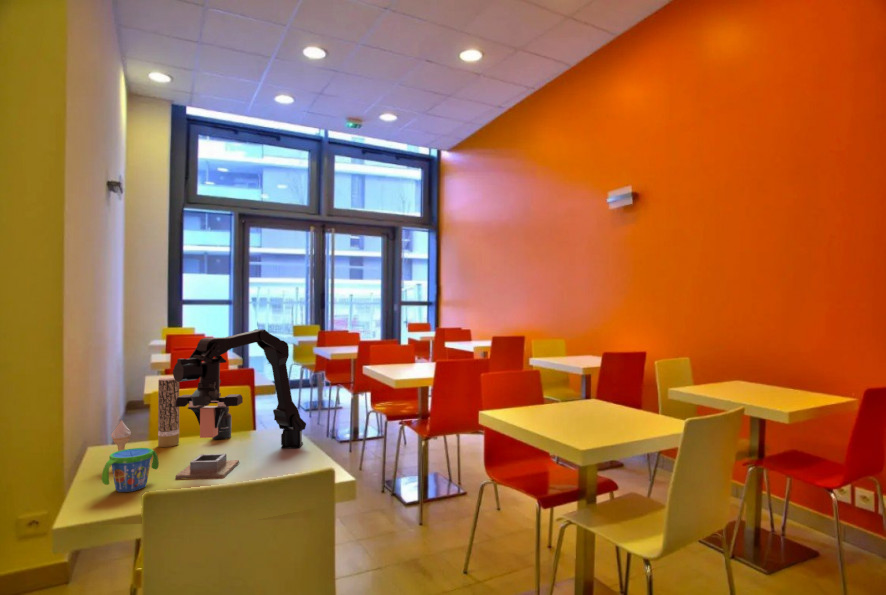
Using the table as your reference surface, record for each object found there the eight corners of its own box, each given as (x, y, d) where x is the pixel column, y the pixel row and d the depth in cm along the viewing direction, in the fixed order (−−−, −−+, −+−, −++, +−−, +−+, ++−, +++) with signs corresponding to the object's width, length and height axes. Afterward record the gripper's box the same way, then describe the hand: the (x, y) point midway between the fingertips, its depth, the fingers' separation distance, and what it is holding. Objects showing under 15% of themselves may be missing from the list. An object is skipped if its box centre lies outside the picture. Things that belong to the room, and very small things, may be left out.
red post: (217, 434, 161) (218, 405, 162) (213, 437, 157) (213, 408, 158) (204, 434, 161) (205, 406, 161) (199, 437, 157) (200, 408, 157)
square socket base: (239, 463, 167) (239, 450, 167) (223, 477, 153) (223, 464, 153) (194, 464, 166) (194, 451, 166) (175, 478, 152) (175, 465, 152)
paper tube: (182, 444, 189) (183, 377, 190) (164, 448, 183) (164, 379, 184) (172, 441, 193) (172, 375, 193) (154, 446, 187) (154, 378, 187)
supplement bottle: (224, 440, 194) (224, 409, 194) (208, 439, 196) (208, 408, 196) (235, 436, 201) (235, 405, 201) (219, 435, 202) (219, 405, 202)
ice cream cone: (109, 469, 160) (110, 422, 160) (111, 465, 165) (112, 418, 165) (130, 467, 163) (130, 420, 163) (132, 462, 168) (132, 416, 168)
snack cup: (147, 477, 153) (147, 443, 154) (169, 482, 148) (169, 447, 148) (91, 494, 140) (91, 457, 140) (113, 501, 135) (113, 462, 135)
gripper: (167, 382, 151) (166, 434, 151) (231, 381, 152) (230, 434, 152) (183, 377, 162) (182, 426, 162) (243, 376, 164) (242, 425, 163)
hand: (209, 428), depth 159 cm, fingers closed on red post, 4 cm apart
